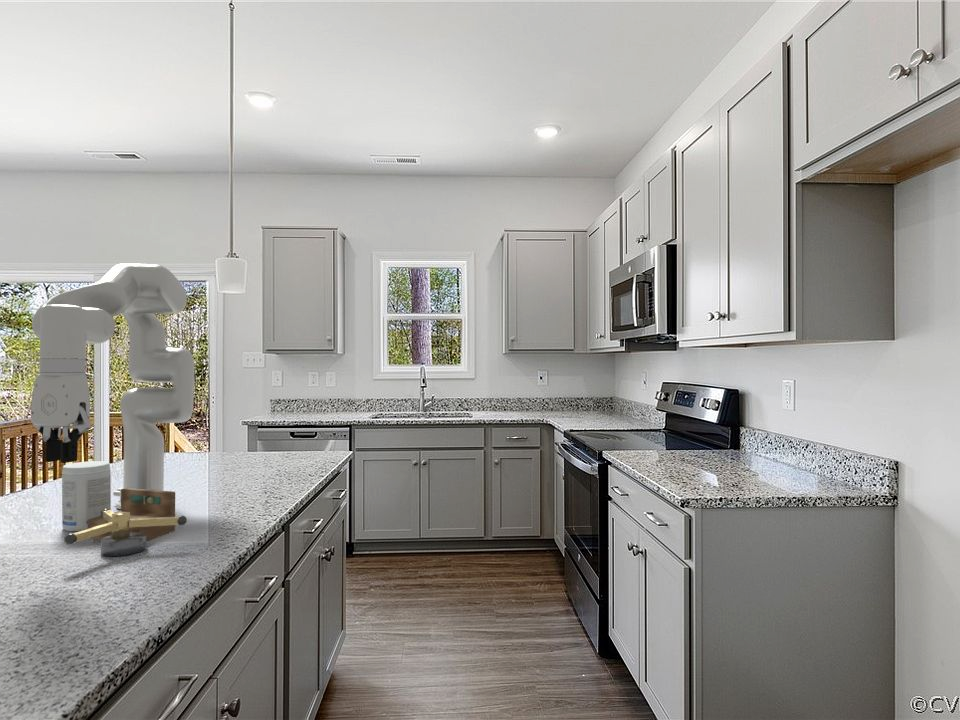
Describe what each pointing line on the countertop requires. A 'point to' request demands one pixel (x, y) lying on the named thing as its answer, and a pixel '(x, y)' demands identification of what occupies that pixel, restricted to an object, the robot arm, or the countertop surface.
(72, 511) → the supplement tub
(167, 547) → the countertop surface
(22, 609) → the countertop surface
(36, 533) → the countertop surface
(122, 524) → the tan branched rod piece
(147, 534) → the level stand
